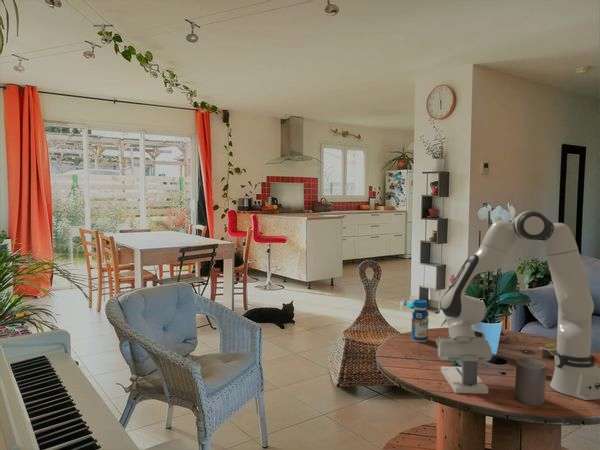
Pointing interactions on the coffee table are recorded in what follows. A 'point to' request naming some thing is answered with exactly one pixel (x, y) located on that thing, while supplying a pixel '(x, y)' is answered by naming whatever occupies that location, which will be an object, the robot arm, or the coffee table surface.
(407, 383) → the coffee table surface
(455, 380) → the board
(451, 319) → the robot arm
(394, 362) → the coffee table surface
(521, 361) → the pillar candle
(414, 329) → the beverage bottle
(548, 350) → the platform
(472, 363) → the fader tab
